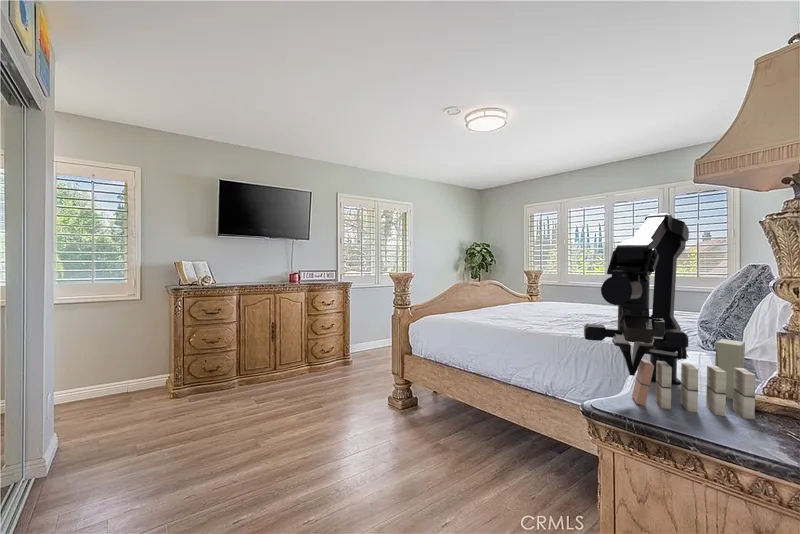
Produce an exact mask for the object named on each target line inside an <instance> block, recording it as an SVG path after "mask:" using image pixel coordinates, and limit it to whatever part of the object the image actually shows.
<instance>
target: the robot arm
mask: <svg viewBox="0 0 800 534" xmlns="http://www.w3.org/2000/svg"><path fill="white" fill-rule="evenodd" d="M689 231H690V230H689V227H688V225H687V224H686V223H685V221H682V220H680V219H677V218H675V217H673V216H672V215H671V214H670V213H669V214H668V213H655V214H654V213H653V214H649V215H646V216H645V218H644V222H643V223H642V225H641V226H640V227H639V229H638V230H637V231H636V233H635V234H634V235H633V236H632V238H629V239H625V240H622V241H621V242H620V243H618V244H617V245H616V247H615V248H614V249H613V252H612V254H611V257H610V261H609V264H608V268H607V270H606V274H607V275H609V276H610V275H611V276H610V277H608V278H606V279H605V280H604V281H603V283H602V285H601V287H600V292H601V296H602V298H603V300H604V301H605V302H607V303H609V304H611V305H614V306H617V329H616V328H606V327H605V325H604V324H597V323H596V324H595V323H586V324H585V325H584V327H583V337H584V339H585V340H587V341H595V342H596V341H597V342H599V341H600V342H602V341H604V339H606V338H612V339H611V343H612V344H613V346H616V347H619V349H620V352H621V354H622V356H623V359H624V362H625V366H626V368H627V370H628V371H627V372H628V373H629V376H634V377H635V375H636V374H637V372H638V367H639V364H640V361H641V359H643V357H644V356H645V355H649V361H650V362H651V363H652V364H653V365H654V370H653V374H652V378H651V382H656V362H657V361H665V362H666V363H668V364H669V365H670V366H671V367H672V378H671V384H677V385H681V379H679V378H678V377H677V374H678V372H677V370H678V369H677V368H678V367H677V366H678V360H679V361H680V360H687V358H688V357H687V356H688V354H687V353H688V351H687V348H689V335H688V334H687V333H686V332H684V331H682V330H681V329H682V328H681V326H680V325H679V323H678V321H677V320H676V318H675V316H674V313H675V301H676V300H675V299H676V298H675V297H676V281H677V280H676V278H677V263H678V261H677V260H678V258H679V257H680V256H681V254H683V252H684V251H685V250H686V243H687V242H688V241H689V237H690V232H689ZM652 273H654V276H653V278H654V280H653V296H652V311H651V312H652V313H651V314H650V285H651V283H650V282H651V281H650V279H651V278H650V276H652ZM631 343H633V347H632V345H631ZM631 349H632V352H631Z"/></svg>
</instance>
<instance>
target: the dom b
mask: <svg viewBox="0 0 800 534" xmlns="http://www.w3.org/2000/svg"><path fill="white" fill-rule="evenodd" d="M671 378H672V367H671V366H670V365H669V364H668V363H666V362H665V361H657V362H656V381H655V402H656V403H657V404H658V405H659V407H660V408H661V409H667V410H671V409H672V383H671Z"/></svg>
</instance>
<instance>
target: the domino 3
mask: <svg viewBox="0 0 800 534" xmlns="http://www.w3.org/2000/svg"><path fill="white" fill-rule="evenodd" d="M756 378H757V377H756V374H755V373H752V372H751V371H749V370H748V369H746V368H745V367H744V368H734V388H733V389H734V391H733V399H732V400H733V401H732V410H733V411H734V412H736V413H737V415H739V416H741V417H742V418H743V419H749V420H755V410H756V407H755V406H756V405H755V404H756V380H757V379H756Z"/></svg>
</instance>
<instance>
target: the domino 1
mask: <svg viewBox="0 0 800 534" xmlns="http://www.w3.org/2000/svg"><path fill="white" fill-rule="evenodd" d="M653 370H654V365H653V364H652V363H651V362H650V360H648V359H643V358H642V359H641V361H640V364H639V366H638V368H637V371H636V377H635V381H634V385H633V390H632V394H631V397H632V399H633V400H634V402H635V404H637V405H641V406H644V405H645V406H646V404H647V400H648V396H649V395H648V394H649V391H650V386H651V383H652V381H651V378H652V374H653Z"/></svg>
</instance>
